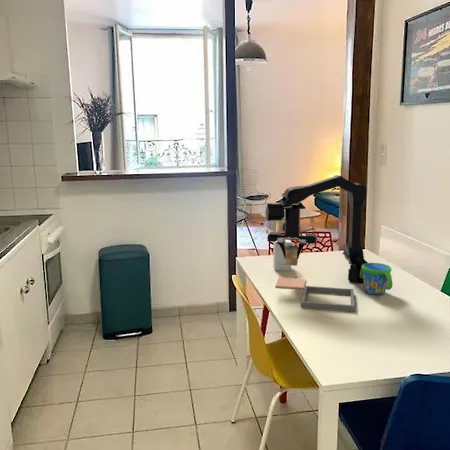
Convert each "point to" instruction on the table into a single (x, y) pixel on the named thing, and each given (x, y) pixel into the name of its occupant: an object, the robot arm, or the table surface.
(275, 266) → the supplement box
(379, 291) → the snack cup
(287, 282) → the tile
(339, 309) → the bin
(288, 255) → the oak block
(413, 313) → the table surface
